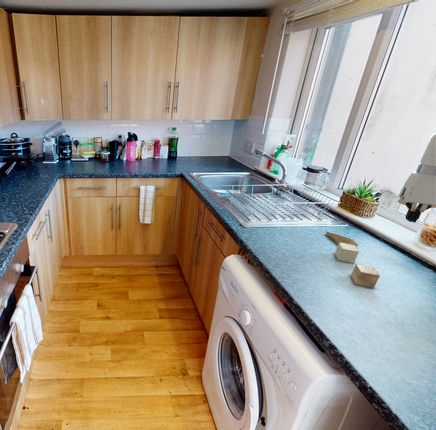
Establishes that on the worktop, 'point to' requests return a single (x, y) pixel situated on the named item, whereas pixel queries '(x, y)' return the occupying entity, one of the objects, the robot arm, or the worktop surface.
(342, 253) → the cream block
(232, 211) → the worktop surface
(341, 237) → the shard
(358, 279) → the maple block
